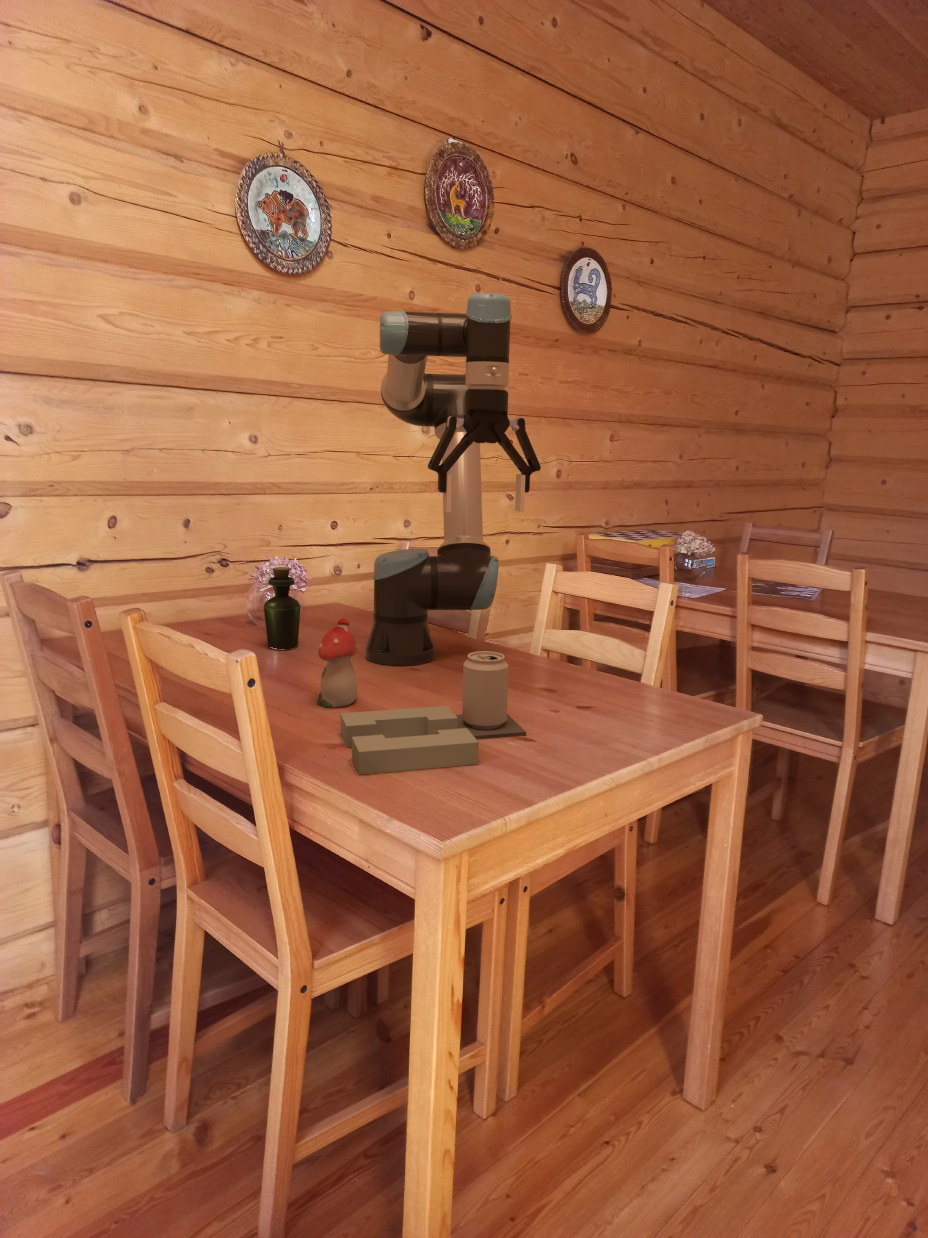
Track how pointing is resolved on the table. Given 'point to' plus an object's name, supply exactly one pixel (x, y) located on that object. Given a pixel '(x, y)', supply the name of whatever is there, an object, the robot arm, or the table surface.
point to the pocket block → (407, 740)
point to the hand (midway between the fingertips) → (483, 511)
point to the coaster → (494, 729)
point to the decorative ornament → (338, 667)
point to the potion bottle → (282, 612)
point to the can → (485, 690)
